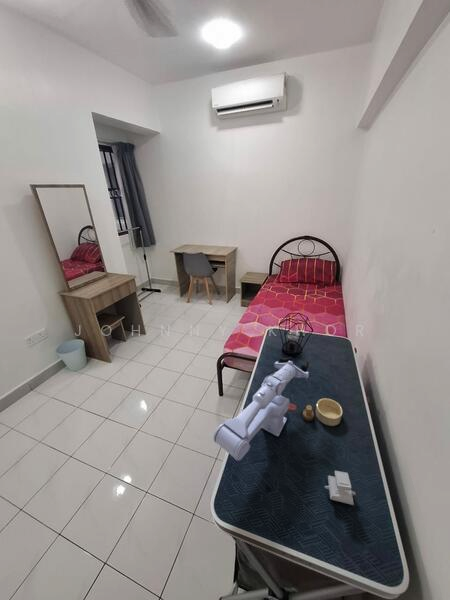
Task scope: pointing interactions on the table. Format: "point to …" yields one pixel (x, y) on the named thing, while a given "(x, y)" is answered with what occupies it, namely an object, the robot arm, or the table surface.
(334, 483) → the stamp
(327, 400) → the yellow round bowl
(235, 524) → the table surface
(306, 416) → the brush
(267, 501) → the table surface
